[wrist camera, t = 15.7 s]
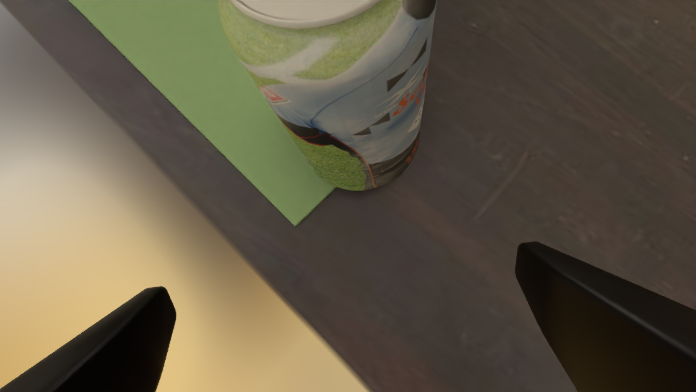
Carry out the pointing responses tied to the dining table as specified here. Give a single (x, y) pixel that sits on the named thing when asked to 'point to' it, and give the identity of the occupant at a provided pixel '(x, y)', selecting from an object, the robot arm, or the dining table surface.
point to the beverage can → (340, 78)
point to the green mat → (211, 92)
